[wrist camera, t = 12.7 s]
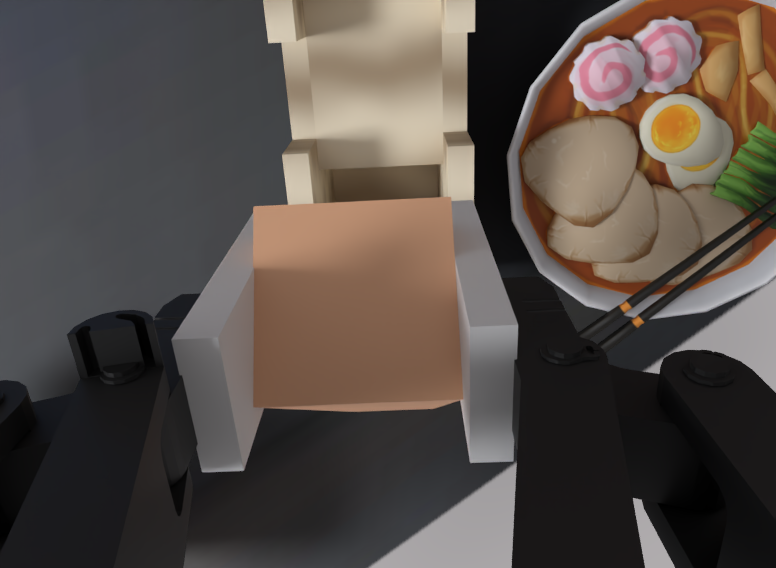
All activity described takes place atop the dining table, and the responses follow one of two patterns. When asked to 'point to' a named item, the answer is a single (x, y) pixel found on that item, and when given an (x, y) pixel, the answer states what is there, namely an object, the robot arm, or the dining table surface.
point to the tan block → (356, 306)
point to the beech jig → (375, 98)
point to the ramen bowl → (652, 160)
